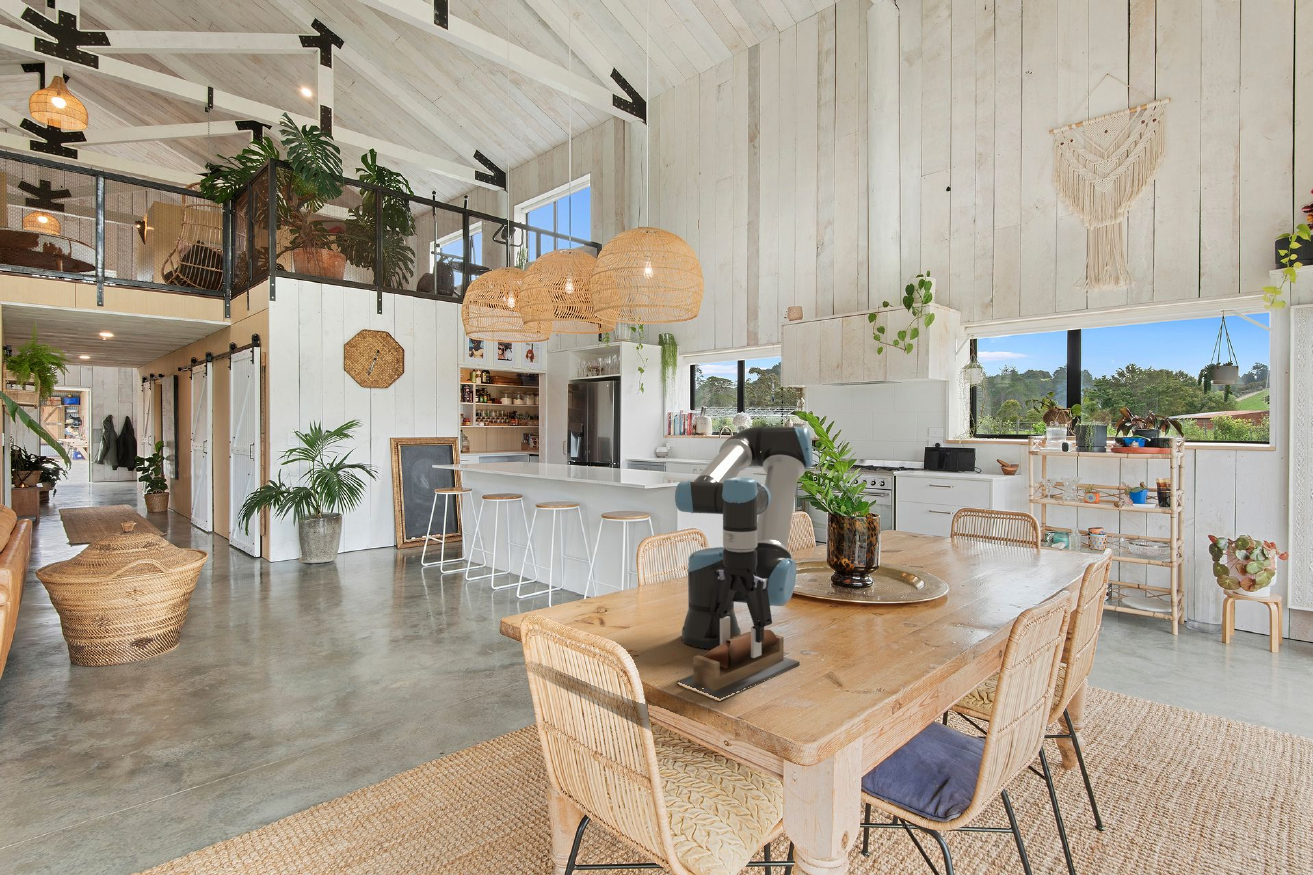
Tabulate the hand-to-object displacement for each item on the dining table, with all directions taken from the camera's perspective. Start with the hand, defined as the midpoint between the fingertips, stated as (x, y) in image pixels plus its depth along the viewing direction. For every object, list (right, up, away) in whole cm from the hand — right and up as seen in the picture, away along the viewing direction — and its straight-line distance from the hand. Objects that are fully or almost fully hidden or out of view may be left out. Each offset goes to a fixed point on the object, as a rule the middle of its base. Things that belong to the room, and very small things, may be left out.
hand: (740, 650), depth 146 cm
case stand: (0, -5, 0) cm, 5 cm away
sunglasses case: (0, -1, 0) cm, 1 cm away
